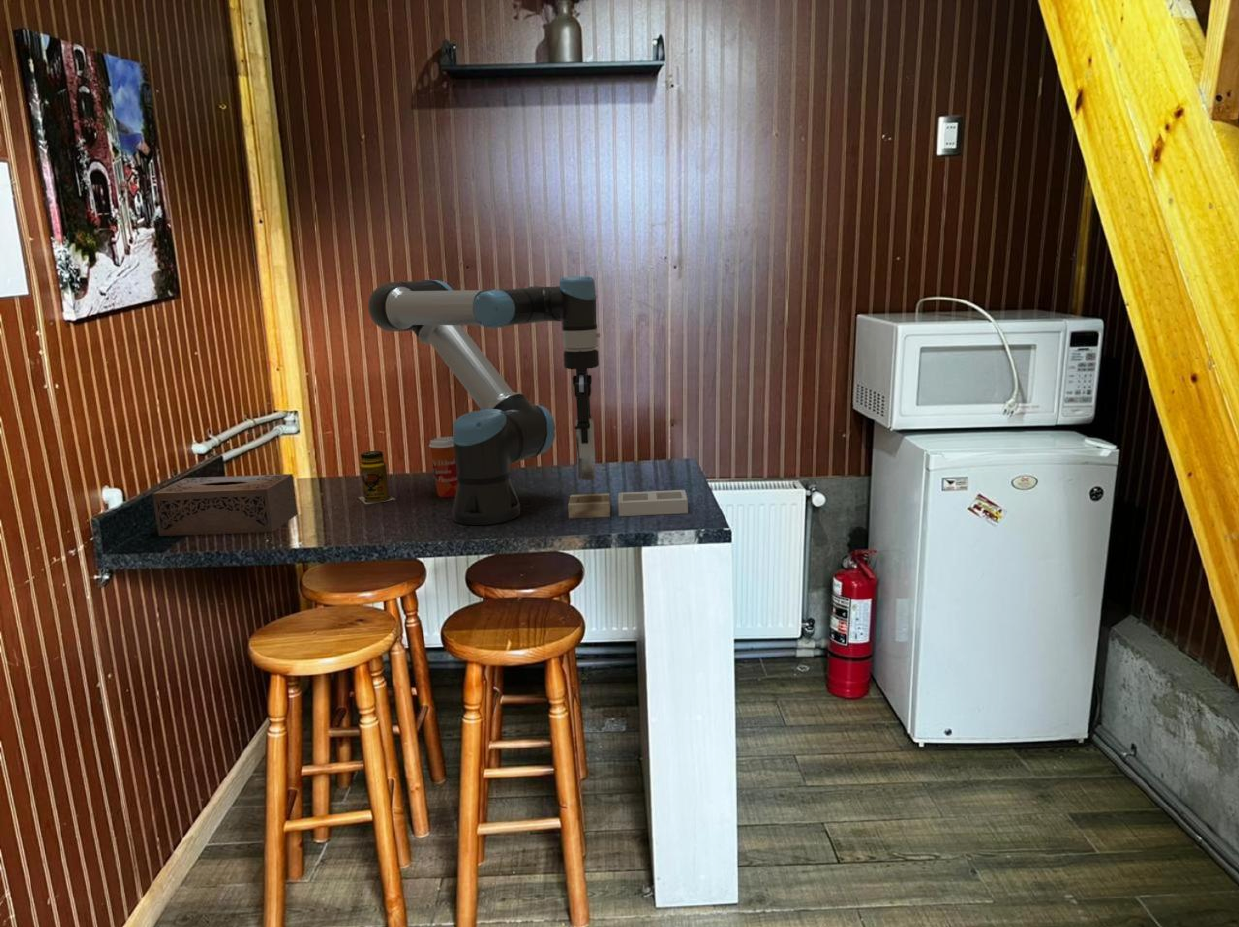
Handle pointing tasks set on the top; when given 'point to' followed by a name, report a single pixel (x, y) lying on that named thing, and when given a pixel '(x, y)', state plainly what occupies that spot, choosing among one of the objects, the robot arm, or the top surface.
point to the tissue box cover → (225, 505)
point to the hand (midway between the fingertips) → (586, 454)
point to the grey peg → (586, 464)
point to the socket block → (589, 505)
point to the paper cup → (444, 466)
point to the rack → (652, 503)
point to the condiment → (374, 478)
